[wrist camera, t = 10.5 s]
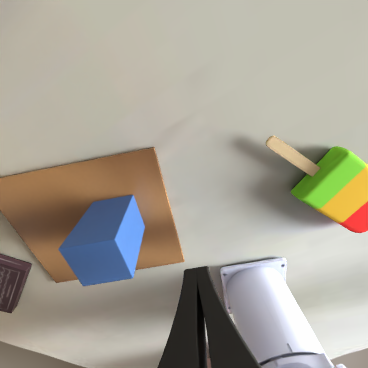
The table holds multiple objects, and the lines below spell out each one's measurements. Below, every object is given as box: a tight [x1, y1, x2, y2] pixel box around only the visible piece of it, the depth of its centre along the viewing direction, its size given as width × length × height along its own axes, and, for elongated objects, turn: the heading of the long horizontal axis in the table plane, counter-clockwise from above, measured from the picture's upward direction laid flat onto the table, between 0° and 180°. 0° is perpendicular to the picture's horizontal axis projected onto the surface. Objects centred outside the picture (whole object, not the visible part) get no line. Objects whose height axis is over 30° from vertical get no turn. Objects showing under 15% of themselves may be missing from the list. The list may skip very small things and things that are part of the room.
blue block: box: [58, 195, 145, 286], centre depth 16 cm, size 4×4×6 cm
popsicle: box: [266, 136, 368, 233], centre depth 17 cm, size 6×15×2 cm, turn 59°
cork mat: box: [0, 147, 184, 283], centre depth 19 cm, size 14×16×1 cm
